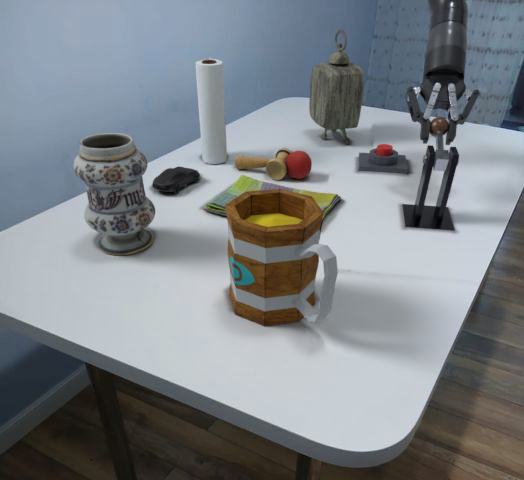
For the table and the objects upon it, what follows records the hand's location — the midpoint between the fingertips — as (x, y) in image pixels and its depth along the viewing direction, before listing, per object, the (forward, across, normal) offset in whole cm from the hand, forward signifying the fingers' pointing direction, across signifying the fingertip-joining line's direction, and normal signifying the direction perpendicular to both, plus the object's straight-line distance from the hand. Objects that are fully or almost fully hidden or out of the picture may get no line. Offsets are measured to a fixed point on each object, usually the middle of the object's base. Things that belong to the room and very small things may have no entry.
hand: (437, 141), depth 94 cm
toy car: (+8, -53, +10) cm, 55 cm away
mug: (+38, -24, -19) cm, 49 cm away
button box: (-4, -8, +22) cm, 24 cm away
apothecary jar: (+27, -55, -8) cm, 62 cm away
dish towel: (+14, -30, +5) cm, 33 cm away
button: (-7, -8, +20) cm, 22 cm away
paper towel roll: (-4, -48, +22) cm, 53 cm away
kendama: (+1, -33, +17) cm, 37 cm away
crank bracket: (+14, 0, +4) cm, 15 cm away
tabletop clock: (-18, -21, +36) cm, 46 cm away
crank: (+2, 0, -1) cm, 2 cm away
